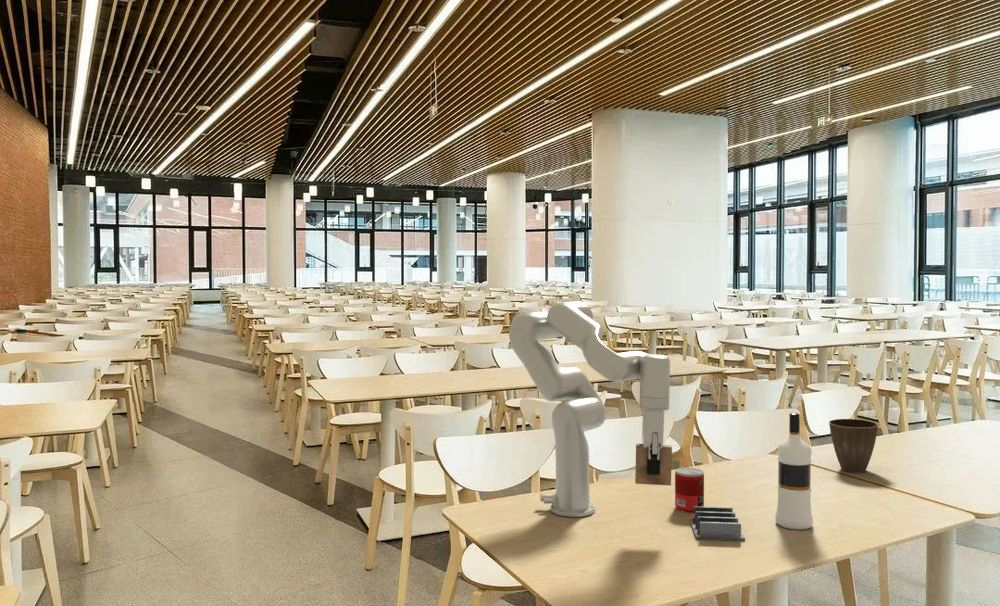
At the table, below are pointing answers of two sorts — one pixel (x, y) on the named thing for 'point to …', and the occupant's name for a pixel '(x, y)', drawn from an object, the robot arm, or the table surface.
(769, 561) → the table surface
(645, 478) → the board
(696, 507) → the rack
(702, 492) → the canned food
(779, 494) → the vodka
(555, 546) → the table surface
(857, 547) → the table surface
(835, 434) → the plant pot
